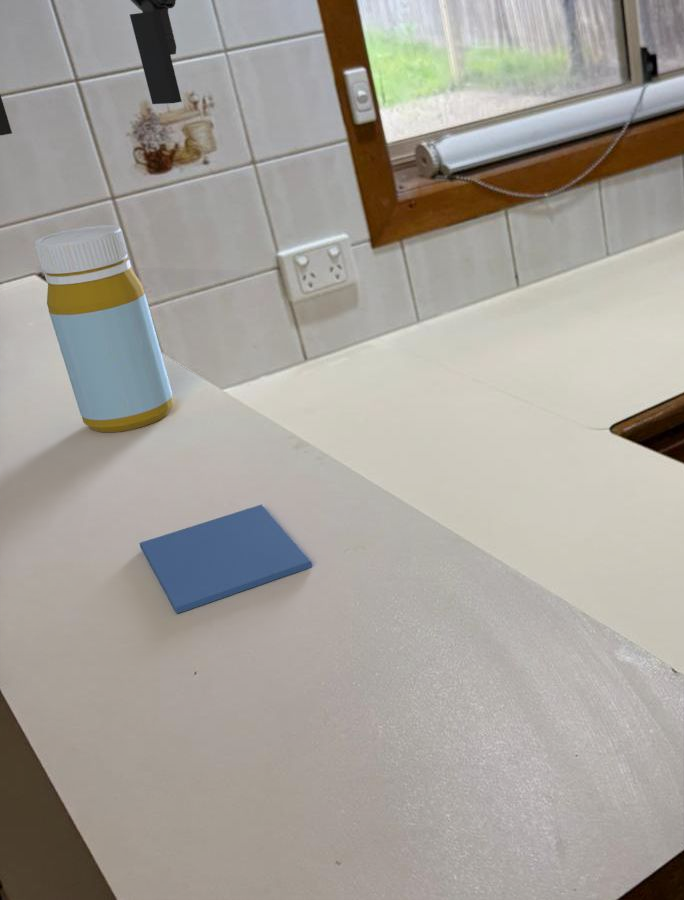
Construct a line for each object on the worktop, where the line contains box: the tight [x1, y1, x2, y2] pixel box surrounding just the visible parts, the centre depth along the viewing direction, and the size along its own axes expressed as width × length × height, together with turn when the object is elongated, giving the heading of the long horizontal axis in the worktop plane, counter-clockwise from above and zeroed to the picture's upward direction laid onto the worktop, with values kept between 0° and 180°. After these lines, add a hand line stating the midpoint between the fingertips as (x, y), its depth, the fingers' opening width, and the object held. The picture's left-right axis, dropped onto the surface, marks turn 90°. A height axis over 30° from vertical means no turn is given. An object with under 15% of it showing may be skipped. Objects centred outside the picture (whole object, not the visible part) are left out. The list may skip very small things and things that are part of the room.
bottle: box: [34, 224, 175, 433], centre depth 89 cm, size 7×7×15 cm
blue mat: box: [139, 504, 313, 615], centre depth 67 cm, size 10×8×1 cm
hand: (87, 118), depth 82 cm, fingers open, 13 cm apart
